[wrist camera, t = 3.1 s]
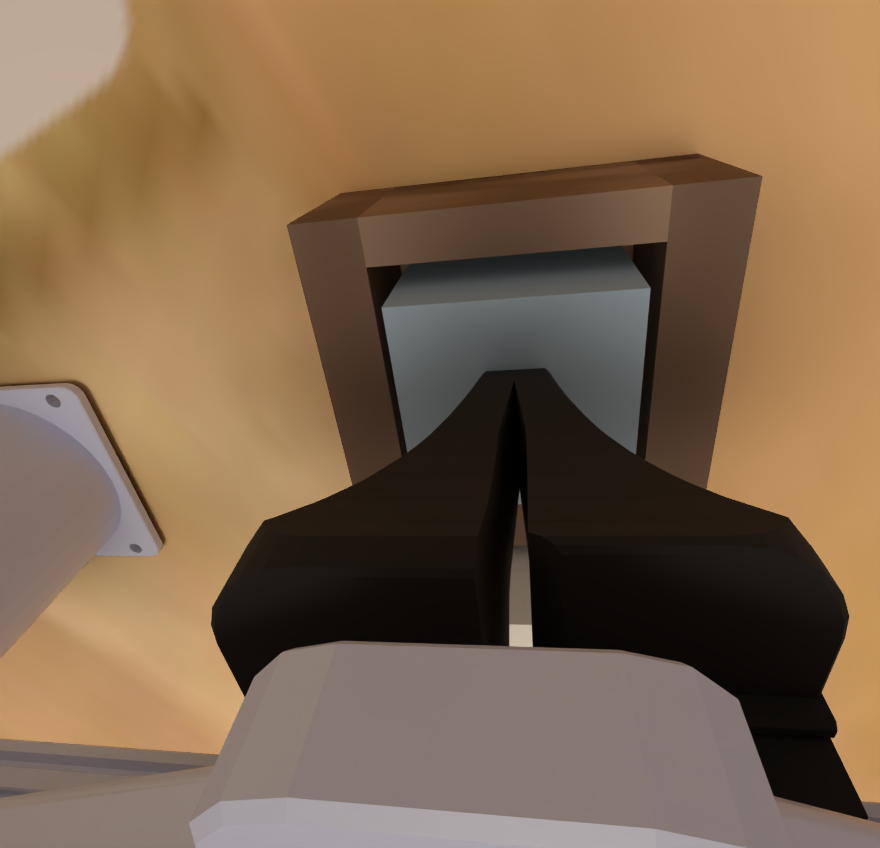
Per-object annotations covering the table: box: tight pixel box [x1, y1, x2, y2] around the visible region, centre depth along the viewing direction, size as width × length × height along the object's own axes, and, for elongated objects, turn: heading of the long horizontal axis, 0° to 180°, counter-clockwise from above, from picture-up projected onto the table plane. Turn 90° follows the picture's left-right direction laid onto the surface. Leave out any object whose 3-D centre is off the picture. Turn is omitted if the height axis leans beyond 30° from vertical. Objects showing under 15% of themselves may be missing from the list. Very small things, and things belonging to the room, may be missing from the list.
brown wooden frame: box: [287, 154, 762, 546], centre depth 16 cm, size 9×16×4 cm, turn 7°
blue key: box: [382, 246, 651, 504], centre depth 13 cm, size 5×5×3 cm
